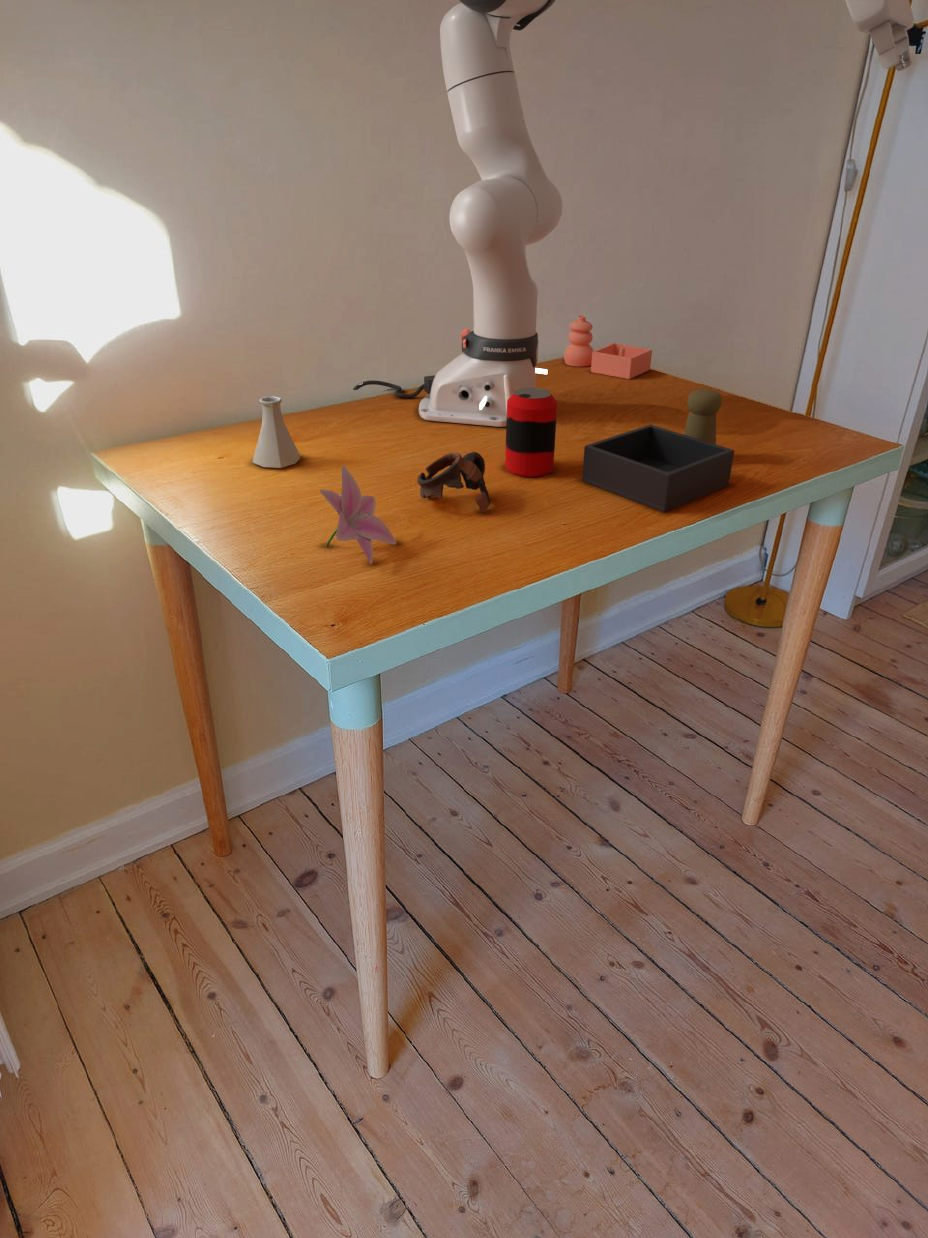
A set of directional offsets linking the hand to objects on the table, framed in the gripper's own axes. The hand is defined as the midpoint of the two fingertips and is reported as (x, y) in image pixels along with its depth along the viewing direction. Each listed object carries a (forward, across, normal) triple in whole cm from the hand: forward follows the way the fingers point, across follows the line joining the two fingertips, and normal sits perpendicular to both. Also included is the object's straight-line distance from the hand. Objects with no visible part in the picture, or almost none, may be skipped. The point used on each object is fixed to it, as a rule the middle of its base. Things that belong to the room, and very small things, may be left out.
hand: (898, 67), depth 114 cm
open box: (+39, +18, -42) cm, 60 cm away
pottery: (+22, -39, -72) cm, 85 cm away
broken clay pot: (+29, +40, -61) cm, 78 cm away
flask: (+14, +42, -90) cm, 100 cm away
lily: (+28, +60, -63) cm, 92 cm away
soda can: (+30, +23, -59) cm, 70 cm away
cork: (+40, +4, -41) cm, 57 cm away
